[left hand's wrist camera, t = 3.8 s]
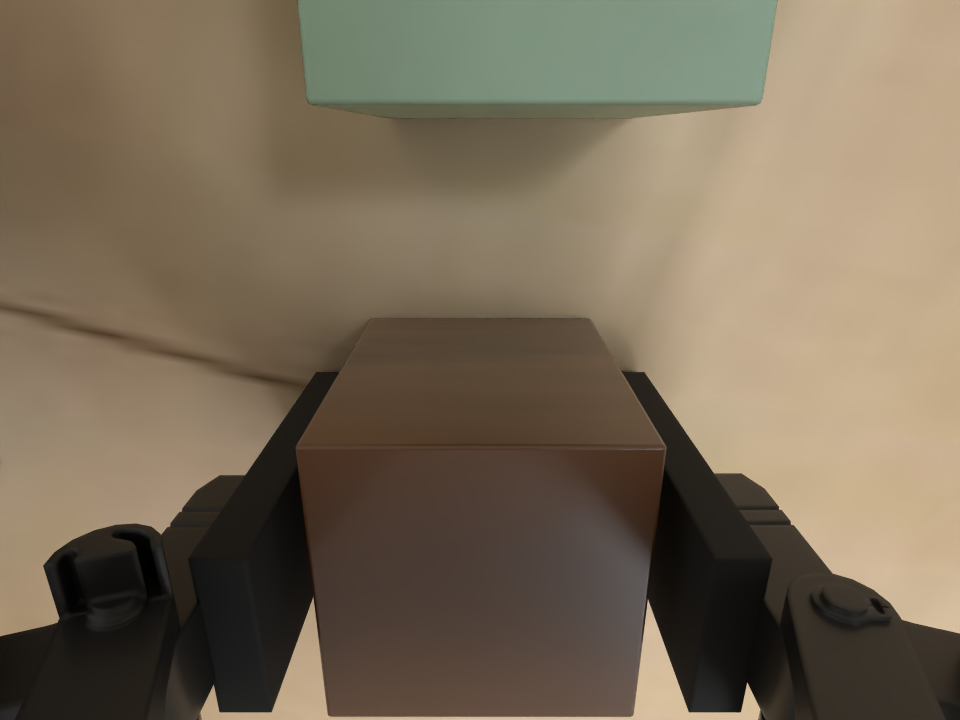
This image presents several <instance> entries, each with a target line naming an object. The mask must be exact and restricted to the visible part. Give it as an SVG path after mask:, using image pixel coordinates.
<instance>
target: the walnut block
mask: <svg viewBox="0 0 960 720" xmlns="http://www.w3.org/2000/svg"><path fill="white" fill-rule="evenodd" d="M296 455H297V463H298V472H299V480H300V488H301V497H302V505H303V513H304V521H305V530H306V538H307V546H308V555H309V563H310V571H311V579H312V588H313V596H314V604H315V612H316V621H317V629H318V637H319V646H320V654H321V662H322V670H323V679H324V687H325V695H326V704H327V712H328V715H329V716H330V717H631V716H633V714H634V707H635V698H636V690H637V682H638V674H639V666H640V658H641V650H642V642H643V634H644V626H645V618H646V609H647V601H648V593H649V585H650V577H651V569H652V561H653V553H654V545H655V537H656V529H657V520H658V512H659V504H660V496H661V488H662V480H663V472H664V464H665V456H666V446H665V444H664V442H663V440H662V439H661V437H660V435H659V434H658V432H657V430H656V429H655V427H654V425H653V424H652V422H651V420H650V419H649V417H648V415H647V414H646V412H645V410H644V409H643V407H642V405H641V404H640V402H639V400H638V399H637V397H636V395H635V393H634V392H633V390H632V388H631V387H630V385H629V383H628V382H627V380H626V378H625V377H624V375H623V373H622V372H621V370H620V368H619V367H618V365H617V363H616V362H615V360H614V358H613V357H612V355H611V353H610V352H609V350H608V348H607V346H606V345H605V343H604V341H603V340H602V338H601V336H600V335H599V333H598V331H597V330H596V328H595V326H594V325H593V323H592V321H591V320H590V319H371V320H370V321H369V323H368V325H367V326H366V328H365V330H364V332H363V333H362V335H361V337H360V338H359V340H358V342H357V343H356V345H355V347H354V349H353V350H352V352H351V354H350V355H349V357H348V359H347V360H346V362H345V364H344V366H343V367H342V369H341V371H340V372H339V374H338V376H337V377H336V379H335V381H334V383H333V384H332V386H331V388H330V389H329V391H328V393H327V394H326V396H325V398H324V400H323V401H322V403H321V405H320V406H319V408H318V410H317V411H316V413H315V415H314V417H313V418H312V420H311V422H310V423H309V425H308V427H307V428H306V430H305V432H304V434H303V435H302V437H301V439H300V440H299V442H298V444H297V446H296Z"/></svg>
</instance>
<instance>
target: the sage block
mask: <svg viewBox="0 0 960 720" xmlns="http://www.w3.org/2000/svg"><path fill="white" fill-rule="evenodd" d="M297 3H298V13H299V24H300V35H301V46H302V57H303V67H304V78H305V89H306V99H307V101H308V103H309V104H312V105H315V106H321V107H327V108H333V109H339V110H344V111H350V112H356V113H362V114H368V115H373V116H379V117H385V118H638V117H648V116H658V115H667V114H677V113H687V112H696V111H706V110H716V109H725V108H735V107H745V106H754V105H758V104H760V103H761V101H762V98H763V91H764V85H765V78H766V72H767V65H768V59H769V52H770V45H771V39H772V32H773V26H774V19H775V12H776V6H777V0H297Z"/></svg>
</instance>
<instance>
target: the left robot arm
mask: <svg viewBox="0 0 960 720" xmlns="http://www.w3.org/2000/svg"><path fill="white" fill-rule="evenodd" d="M622 373H623V375H624V377H625V378H626V380H627V382H628V383H629V385H630V387H631V388H632V390H633V392H634V393H635V395H636V397H637V399H638V400H639V402H640V404H641V405H642V407H643V409H644V410H645V412H646V414H647V415H648V417H649V419H650V420H651V422H652V424H653V425H654V427H655V429H656V430H657V432H658V434H659V435H660V437H661V439H662V440H663V442H664V444H665V446H666V456H665V464H664V472H663V480H662V488H661V496H660V504H659V512H658V520H657V529H656V537H655V545H654V553H653V561H652V569H651V577H650V585H649V593H648V600H649V603H650V606H651V608H652V611H653V614H654V617H655V619H656V622H657V625H658V628H659V631H660V633H661V636H662V639H663V642H664V644H665V647H666V650H667V653H668V655H669V658H670V661H671V664H672V667H673V669H674V672H675V675H676V678H677V680H678V683H679V686H680V689H681V692H682V694H683V697H684V700H685V703H686V705H687V708H688V711H689V712H741V709H742V704H743V700H744V695H745V690H746V685H747V682H748V684H749V687H750V689H751V691H752V693H753V695H754V697H755V699H756V701H757V703H758V705H759V707H760V709H761V710H760V714H759V718H758V720H960V634H959V633H955V632H950V631H946V630H941V629H937V628H932V627H928V626H923V625H919V624H914V623H911V622H907V621H904V620H901V618H900V616H899V615H898V613H897V612H896V611H895V609H894V608H893V606H892V605H891V604H890V603H889V602H888V601H887V600H885V599H884V598H883V597H882V596H880V595H879V594H878V593H877V592H875V591H874V590H872V589H871V588H869V587H867V586H865V585H863V584H861V583H859V582H857V581H855V580H852V579H849V578H846V577H842V576H839V575H835V574H832V572H831V571H830V570H829V569H828V567H827V566H826V565H825V564H824V562H823V561H822V560H821V559H820V557H819V556H818V555H817V554H816V552H815V551H814V550H813V549H812V547H811V546H810V545H809V544H808V542H807V541H806V540H805V539H804V537H803V536H802V535H801V534H800V532H799V531H798V530H797V529H796V527H795V526H794V525H791V521H790V520H789V519H788V517H787V516H786V515H785V514H784V512H783V511H782V510H779V506H778V505H777V504H776V503H775V501H774V500H773V499H772V498H771V496H770V495H769V494H768V493H767V491H766V490H765V489H764V488H763V487H761V486H759V485H758V484H756V483H755V482H753V481H752V480H750V479H749V478H747V477H746V476H744V475H743V474H714V473H713V471H712V470H711V469H710V467H709V466H708V464H707V463H706V461H705V460H704V458H703V457H702V455H701V454H700V453H699V451H698V450H697V448H696V447H695V445H694V444H693V442H692V441H691V439H690V438H689V437H688V435H687V434H686V432H685V431H684V429H683V428H682V426H681V425H680V423H679V422H678V421H677V419H676V418H675V416H674V415H673V413H672V412H671V410H670V409H669V407H668V406H667V405H666V403H665V402H664V400H663V399H662V397H661V396H660V394H659V393H658V391H657V390H656V389H655V387H654V386H653V384H652V383H651V381H650V380H649V378H648V377H647V376H646V374H645V373H644V372H622ZM338 374H339V372H316V373H315V375H314V376H313V378H312V379H311V381H310V382H309V384H308V385H307V387H306V388H305V389H304V391H303V392H302V394H301V395H300V397H299V398H298V400H297V401H296V403H295V404H294V405H293V407H292V408H291V410H290V411H289V413H288V414H287V416H286V417H285V419H284V420H283V421H282V423H281V424H280V426H279V427H278V429H277V430H276V432H275V433H274V435H273V436H272V437H271V439H270V440H269V442H268V443H267V445H266V446H265V448H264V449H263V450H262V452H261V453H260V455H259V456H258V458H257V459H256V461H255V462H254V464H253V465H252V466H251V468H250V469H249V471H248V472H247V474H246V475H220V476H218V477H217V478H215V479H214V480H212V481H211V482H209V483H207V484H206V485H204V486H203V487H201V488H200V489H198V490H197V491H196V492H195V493H194V495H193V496H192V497H191V498H190V500H189V501H188V502H187V503H186V505H185V506H184V507H183V508H182V512H179V513H178V515H177V516H176V517H175V518H174V520H173V521H172V522H171V525H170V527H167V528H166V530H165V531H164V532H163V533H162V535H161V534H160V533H158V532H157V531H156V530H155V529H154V528H152V527H150V526H145V525H140V524H122V525H114V526H110V527H106V528H102V529H98V530H94V531H92V532H90V533H87V534H85V535H83V536H80V537H78V538H76V539H74V540H72V541H70V542H69V543H67V544H66V545H65V546H63V547H62V548H60V549H59V550H57V551H56V552H54V554H53V555H52V556H51V557H50V558H49V560H48V561H47V562H46V563H45V564H44V565H43V567H44V570H45V573H46V576H47V579H48V583H49V586H50V589H51V592H52V596H53V599H54V602H55V605H56V608H57V612H58V615H59V618H60V619H59V621H58V623H56V624H52V625H49V626H45V627H40V628H36V629H31V630H27V631H22V632H18V633H13V634H9V635H4V636H0V720H202V719H201V714H200V711H201V709H202V707H203V705H204V703H205V701H206V699H207V697H208V695H209V693H210V691H211V689H212V687H213V685H214V687H215V692H216V697H217V702H218V706H219V711H220V712H272V710H273V707H274V704H275V701H276V699H277V696H278V693H279V690H280V688H281V685H282V682H283V679H284V676H285V674H286V671H287V668H288V665H289V663H290V660H291V657H292V654H293V651H294V649H295V646H296V643H297V640H298V638H299V635H300V632H301V629H302V627H303V624H304V621H305V618H306V615H307V613H308V610H309V607H310V604H311V602H312V599H313V588H312V579H311V571H310V563H309V555H308V546H307V538H306V530H305V521H304V513H303V505H302V497H301V488H300V480H299V472H298V463H297V455H296V446H297V444H298V442H299V440H300V439H301V437H302V435H303V434H304V432H305V430H306V428H307V427H308V425H309V423H310V422H311V420H312V418H313V417H314V415H315V413H316V411H317V410H318V408H319V406H320V405H321V403H322V401H323V400H324V398H325V396H326V394H327V393H328V391H329V389H330V388H331V386H332V384H333V383H334V381H335V379H336V377H337V376H338Z"/></svg>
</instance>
